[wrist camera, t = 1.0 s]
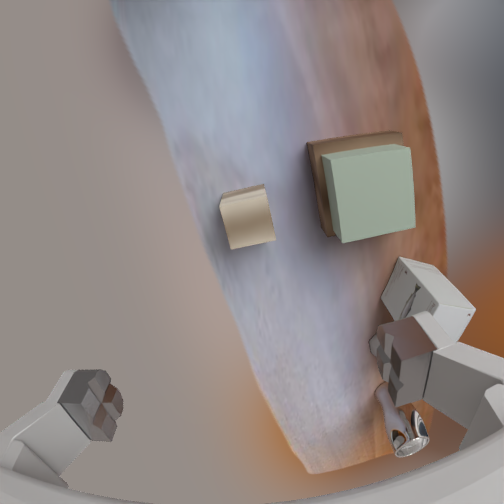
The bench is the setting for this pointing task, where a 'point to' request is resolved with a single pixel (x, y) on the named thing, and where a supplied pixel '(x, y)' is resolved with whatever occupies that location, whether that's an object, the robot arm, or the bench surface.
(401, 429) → the beer glass
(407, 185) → the tower top block
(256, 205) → the birch block
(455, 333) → the supplement box
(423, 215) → the bench surface
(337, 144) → the tower base slab
